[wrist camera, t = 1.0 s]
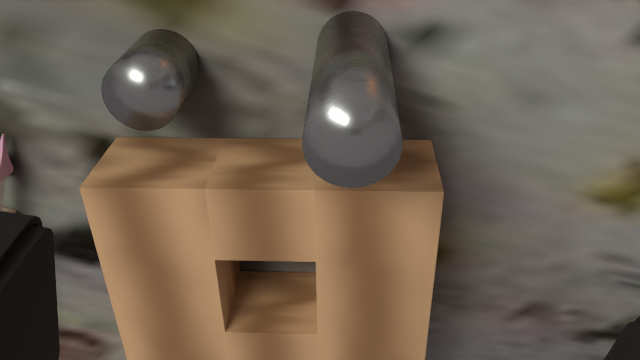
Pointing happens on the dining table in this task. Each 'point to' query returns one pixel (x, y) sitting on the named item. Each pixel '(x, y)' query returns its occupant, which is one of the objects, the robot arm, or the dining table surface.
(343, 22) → the tall pin
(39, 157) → the dining table surface
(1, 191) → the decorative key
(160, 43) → the short pin
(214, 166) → the hole block
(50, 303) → the robot arm
